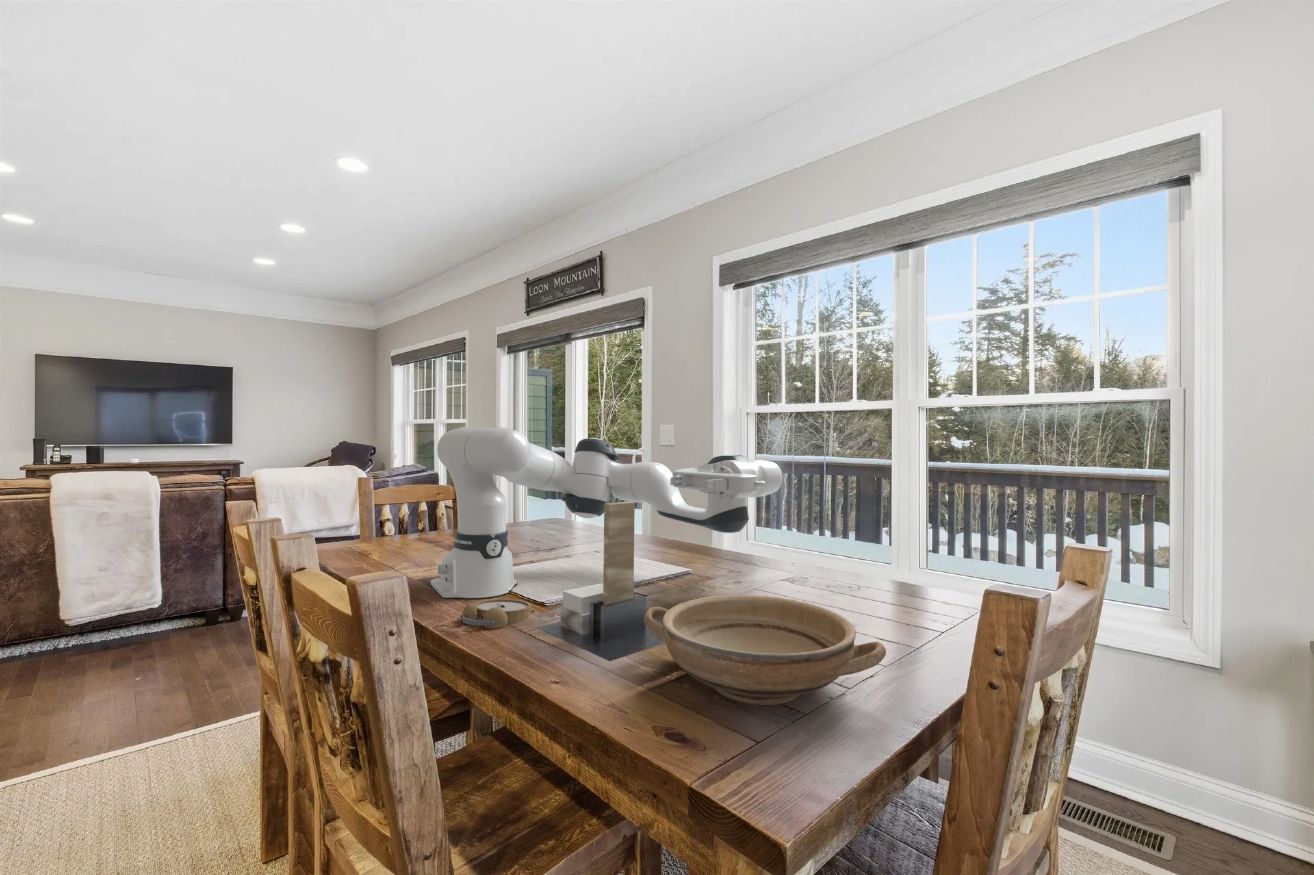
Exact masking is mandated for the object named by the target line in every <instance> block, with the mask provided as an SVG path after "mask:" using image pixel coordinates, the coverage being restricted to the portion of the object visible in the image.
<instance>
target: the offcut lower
mask: <svg viewBox="0 0 1314 875" xmlns="http://www.w3.org/2000/svg"><path fill="white" fill-rule="evenodd" d="M560 622H561V626H563V627H565V628H567V629H570V630H572V631H574V632H577V633H579V634H581V635H584V634H587V633H590V612H588V613H584V614H580V613H578V612H575V611H572V610H570V609H567V608H565V607H563V606H561V607H560Z"/></svg>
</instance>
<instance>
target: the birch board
mask: <svg viewBox="0 0 1314 875" xmlns="http://www.w3.org/2000/svg"><path fill="white" fill-rule="evenodd" d="M635 504H636V502H629V501H621V502H609V503H608V502H607V504H604V513H603V576H602V578H603V581H602V583H603V605H607V604H612V603H616V602H620V601H624V600H628V599H632V598H633V594H635V593H634V590H635V589H634V587H635V586H634V585H635V582H634V578H635V575H634V574H635V573H634V572H635V568H634V567H635V513H636V512H635V511H636V510H635V509H636V507H635V506H636V505H635Z"/></svg>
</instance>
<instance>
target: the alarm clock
mask: <svg viewBox="0 0 1314 875" xmlns="http://www.w3.org/2000/svg"><path fill="white" fill-rule="evenodd" d="M531 604H532V603H530V602H528V601H525V600H520V599H515V598H513V599H512V598H508V599H507V598H494V599H486V600H480V601H478V602H476V603H474V602H471V603H468V604H467V605H466V606H464V609H463V611H462V613H461V614H460V616H459V618H460V619H462V624H463V623H464V624H466V625H471V626H483V627H484V628H485V629H489V630H490V629H493V630H494V629H495V630H496V629H503V628H506V627H507V626H508V625H513V624H518V623H521V622H523V621H526V620H528V619H529V618H530V616H531V613H533V612H535V610H536V609H535V608H532V605H531Z"/></svg>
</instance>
